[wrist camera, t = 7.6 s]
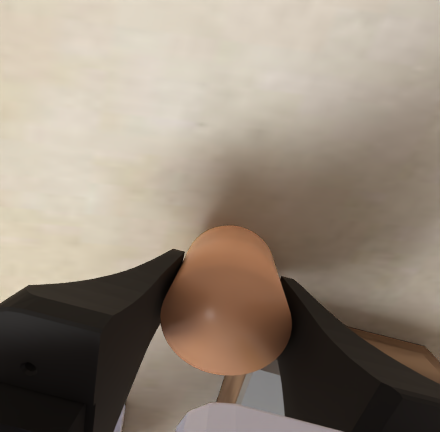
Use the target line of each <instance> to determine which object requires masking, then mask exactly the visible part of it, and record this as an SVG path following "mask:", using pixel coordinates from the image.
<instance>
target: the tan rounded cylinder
mask: <svg viewBox="0 0 440 432" xmlns="http://www.w3.org/2000/svg"><path fill="white" fill-rule="evenodd" d="M160 319H161V327H162V331H163V334H164V337H165V339H166V341H167V343H168V344H169V346H170V347H171V348H172V350H173V351H174V352H175V353H176V354H177V355H178V356H179V357H180V358H181V359H183V360H184V361H185V362H187V363H188V364H190V365H192V366H193V367H195V368H198V369H200V370H202V371H205V372H208V373H212V374H217V375H229V376H234V375H243V374H248V373H251V372H255V371H257V370H260V369H262V368H264V367H266V366H267V365H269V364H270V363H272V362H273V361H274V360H275V359H276V358H277V357H278V356H279V355H280V354H281V353H282V352H283V350H284V349H285V347H286V345H287V343H288V341H289V338H290V336H291V330H292V318H291V313H290V309H289V306H288V303H287V300H286V297H285V294H284V291H283V288H282V285H281V282H280V278H279V275H278V272H277V269H276V266H275V263H274V260H273V257H272V254H271V251H270V249H269V247H268V246H267V244H266V243H265V242H264V241H263V239H262V238H260V237H259V236H258V235H257V234H255V233H254V232H252V231H250V230H248V229H245V228H243V227H238V226H231V225H227V226H219V227H215V228H212V229H209V230H207V231H205V232H204V233H202V234H201V235H200V236H199V237H197V238H196V240H195V241H194V242H193V243H192V245H191V246H190V248H189V250H188V252H187V254H186V256H185V258H184V260H183V262H182V264H181V266H180V268H179V270H178V272H177V275H176V277H175V279H174V281H173V283H172V285H171V287H170V289H169V291H168V293H167V295H166V297H165V299H164V301H163V304H162V307H161V314H160Z"/></svg>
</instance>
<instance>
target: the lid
mask: <svg viewBox="0 0 440 432" xmlns="http://www.w3.org/2000/svg"><path fill="white" fill-rule="evenodd" d="M236 404H238V405H242V406H246V407H250V408H254V409H258V410H262V411H265V412H269V413H273V414H277V415H281V416H285V413H284V402H283V393H282V383H281V377H280V371H279V367H278V362H277V360H276V359H275V360H274V361H273V362H272V363H270V364H269V365H267V366H266V367H264V368H262V369H260V370H257V371H255V372H251V373H248V374H246V376H245V379H244V382H243V385H242V387H241V390H240V393H239V396H238V398H237V401H236Z"/></svg>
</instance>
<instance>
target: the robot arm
mask: <svg viewBox="0 0 440 432" xmlns="http://www.w3.org/2000/svg"><path fill="white" fill-rule="evenodd" d="M184 253H185V252H184V251H180V250H176V249H172V250H170V251H168V252H166V253H164V254H163V255H161V256H159V257H157V258H155V259H153V260H151V261H149V262H146V263H144V264H142V265H139V266H137V267H135V268H132V269H129V270H126V271H123V272H120V273H117V274H113V275H109V276H104V277H100V278H95V279H90V280H84V281H77V282H69V283H59V284H43V285H28V286H27V287H25V288H23V289H22V290H20V291H19V292H17V293H16V294H14V295H12V296H11V297H9V298H8V299H6V300H5V301H3V302H2V303H0V432H122V426H123V420H124V414H125V408H126V407H125V402H126V399H127V396H128V394H129V391H130V389H131V387H132V384H133V382H134V379H135V377H136V374H137V372H138V369H139V367H140V364H141V362H142V360H143V357H144V355H145V352H146V350H147V348H148V346H149V344H150V342H151V340H152V338H153V336H154V334H155V332H156V330H157V328H158V326H159V325H160V323H161V319H160V314H161V307H162V304H163V301H164V299H165V297H166V295H167V293H168V291H169V289H170V287H171V285H172V283H173V281H174V279H175V277H176V275H177V272H178V270H179V268H180V266H181V264H182V262H183V258H184ZM280 282H281V285H282V288H283V291H284V294H285V297H286V300H287V303H288V306H289V309H290V313H291V318H292V330H291V336H290V338H289V341H288V343H287V345H286V347H285V349H284V350H283V352H282V353H281V354H280V355H279V356H278V357H277V362H278V367H279V371H280V377H281V383H282V393H283V402H284V413H285V416H281V415H277V414H273V413H269V412H265V411H262V410H258V409H254V408H250V407H246V406H242V405H238V404H233V403H217V402H210V403H208V404H205V405H202V406H200V407H197V408H194V409H192V410H190V411H188V412H187V413H186V415H185V416H184V417H183V419H182V420H181V421H180V423H179V424H178V425H177V427H176V430H175V432H440V384H439V383H437V382H435V381H433V380H431V379H429V378H427V377H425V376H423V375H421V374H419V373H418V372H416V371H414V370H412V369H411V368H409V367H407V366H405V365H404V364H402V363H400V362H398V361H397V360H395V359H393V358H392V357H390V356H388V355H387V354H385V353H384V352H382V351H381V350H379V349H378V348H376V347H374V346H373V345H371V344H370V343H368V342H367V341H366V340H364V339H363V338H361V337H360V336H358V335H357V334H356V333H354V332H353V331H352V330H350V329H349V328H348V327H346V326H345V325H344V324H343V323H341V322H340V321H339V320H338V319H337V318H335V317H334V316H333V315H332V314H331V313H330V312H329V311H327V310H326V309H325V308H324V307H323V306H322V305H321V304H320V303H319V302H318V301H317V300H315V299H314V298H313V297H312V296H311V295H310V294H309V293H308V292H307V291H306V290H305V289H304V288H303V287H302V286H301V285H300V284H299V283H297V282H296V281H295V280H294V279H290V278H286V277H283V276H281V279H280Z"/></svg>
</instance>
